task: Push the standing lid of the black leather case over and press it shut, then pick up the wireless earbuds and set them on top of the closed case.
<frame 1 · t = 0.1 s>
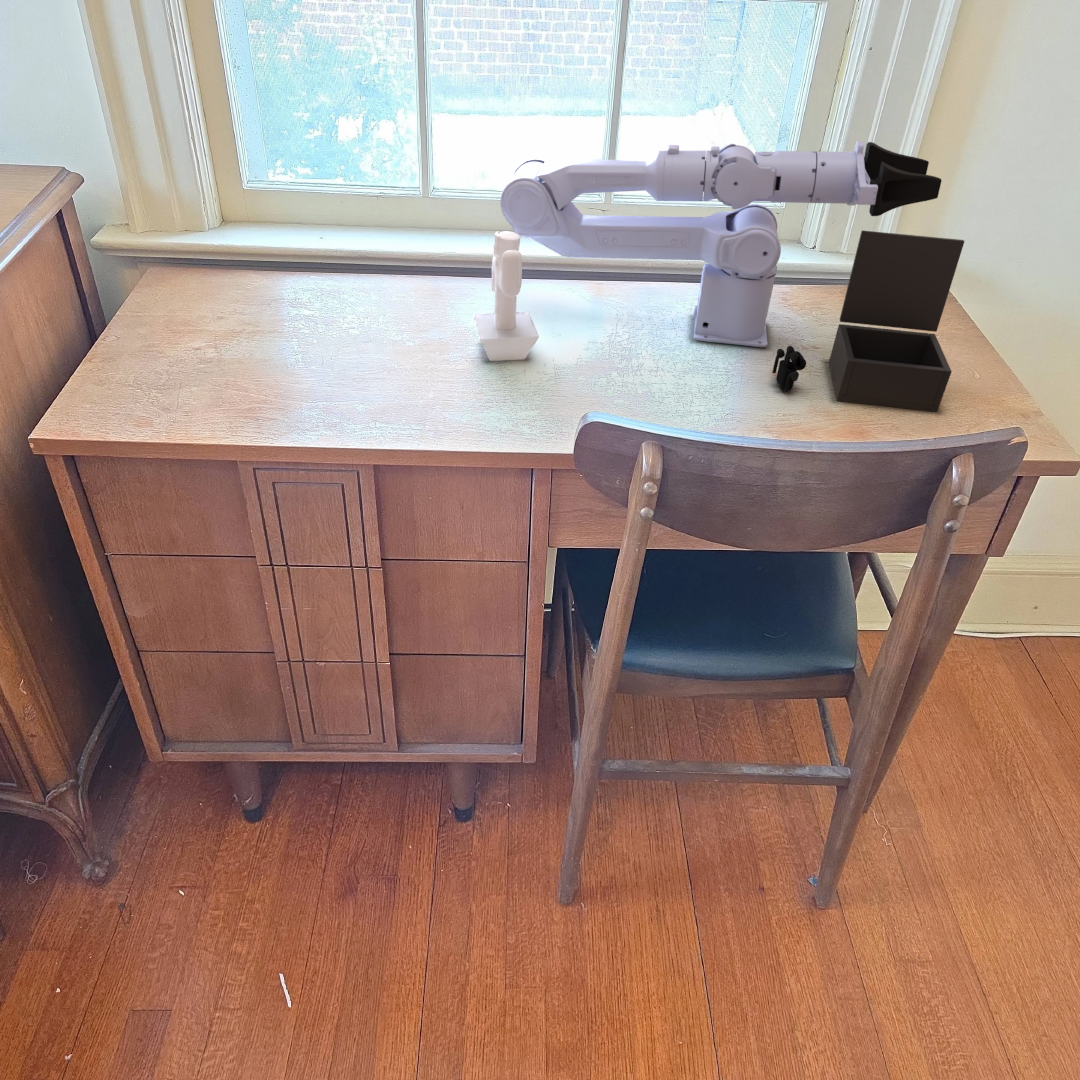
hand: (932, 179, 105), 22 cm above the table, tool horizontal, fingers open, 7 cm apart
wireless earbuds: (786, 388, 108), on the table
case: (880, 386, 110), on the table
figurine: (504, 353, 113), on the table
case lid: (899, 282, 107), point 11 cm above the table, hinge at 95.0°
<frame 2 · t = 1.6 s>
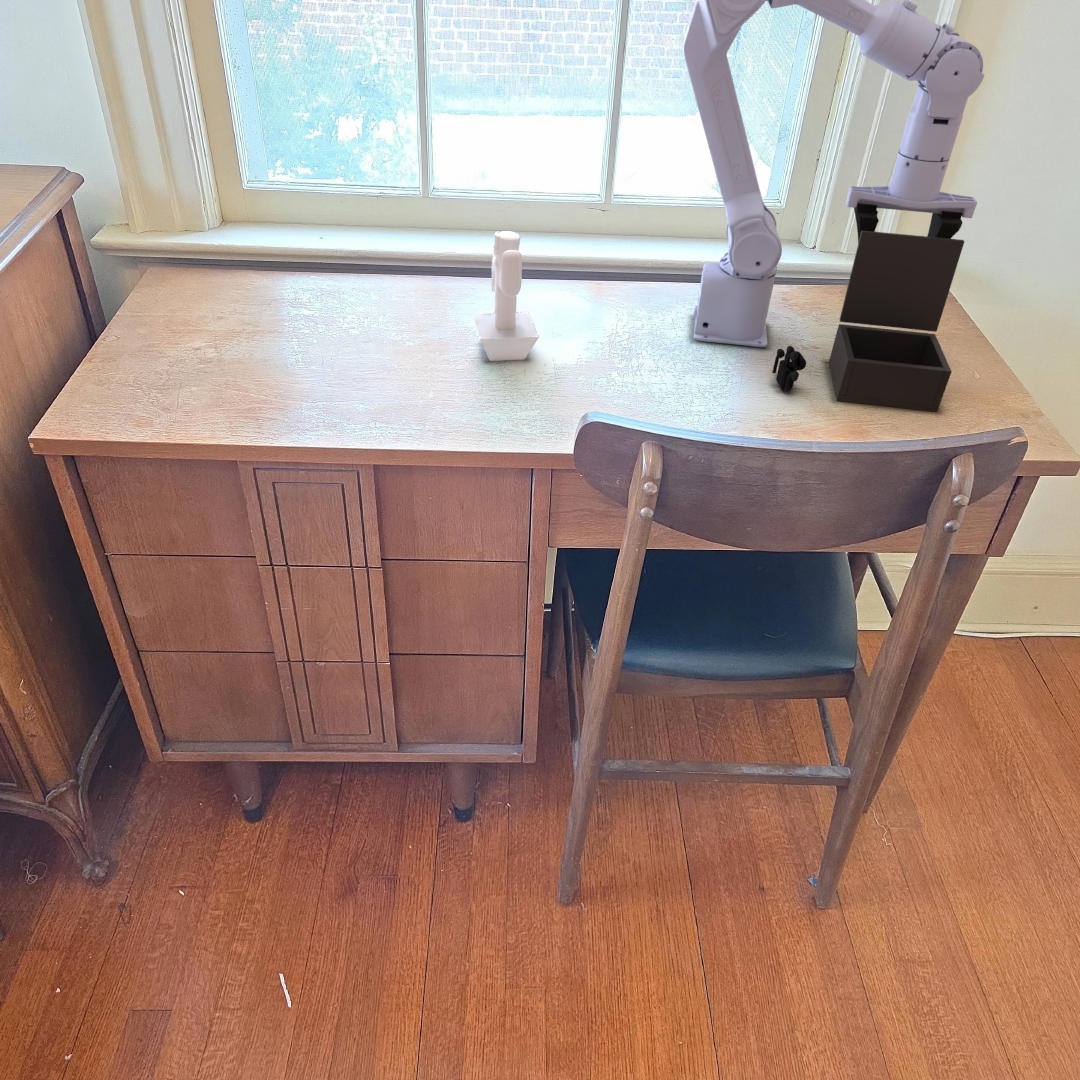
hand: (890, 269, 112), 10 cm above the table, tool pointing down, fingers open, 7 cm apart
nothing on the table moved.
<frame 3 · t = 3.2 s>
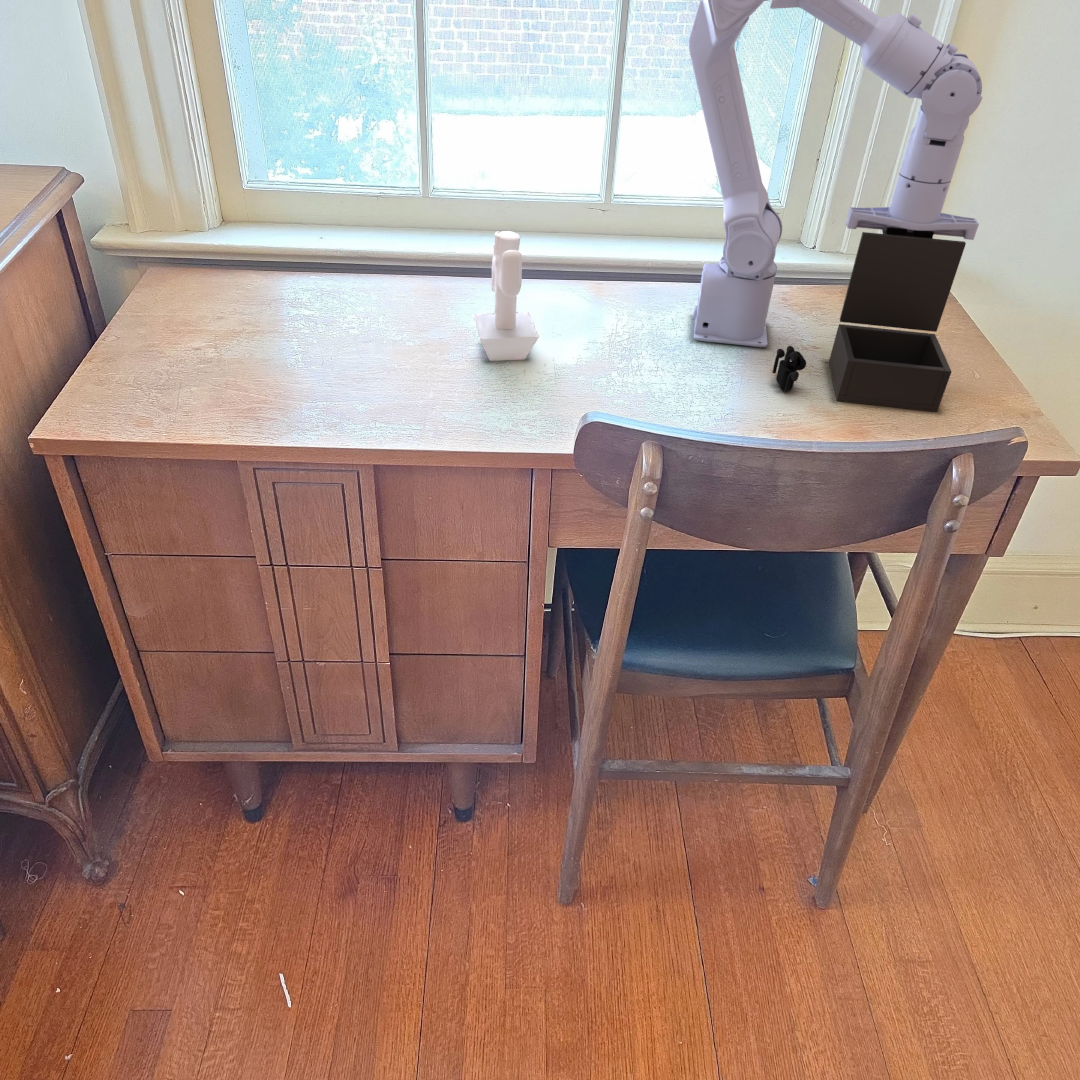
hand: (891, 290, 111), 9 cm above the table, tool pointing down, fingers closed, pressing on case lid
case lid: (900, 283, 107), point 11 cm above the table, hinge at 91.2°, touching gripper
everything else where it was.
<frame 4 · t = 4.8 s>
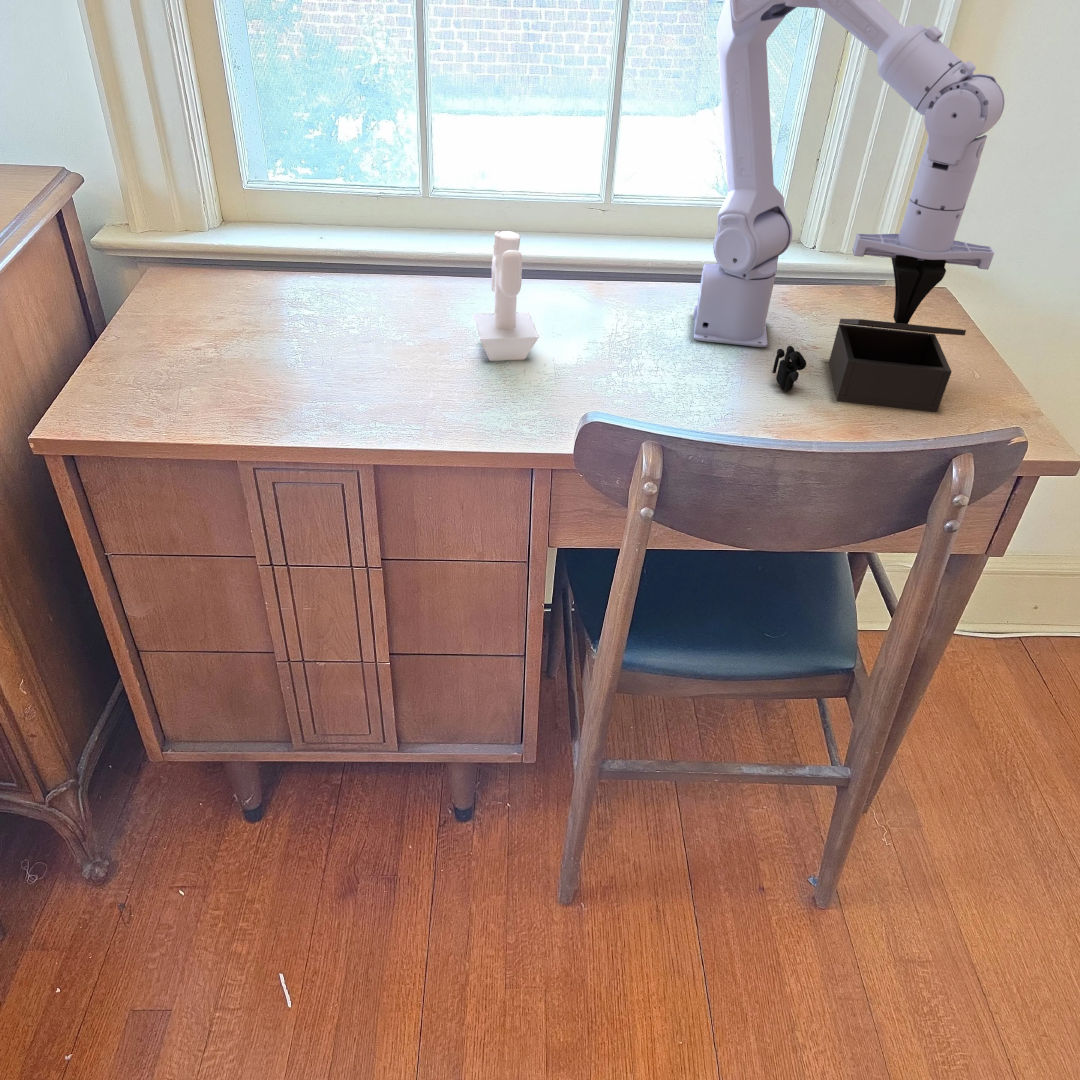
hand: (900, 320, 105), 8 cm above the table, tool pointing down, fingers closed
case lid: (899, 326, 105), point 8 cm above the table, hinge at 23.5°
everything else where it was.
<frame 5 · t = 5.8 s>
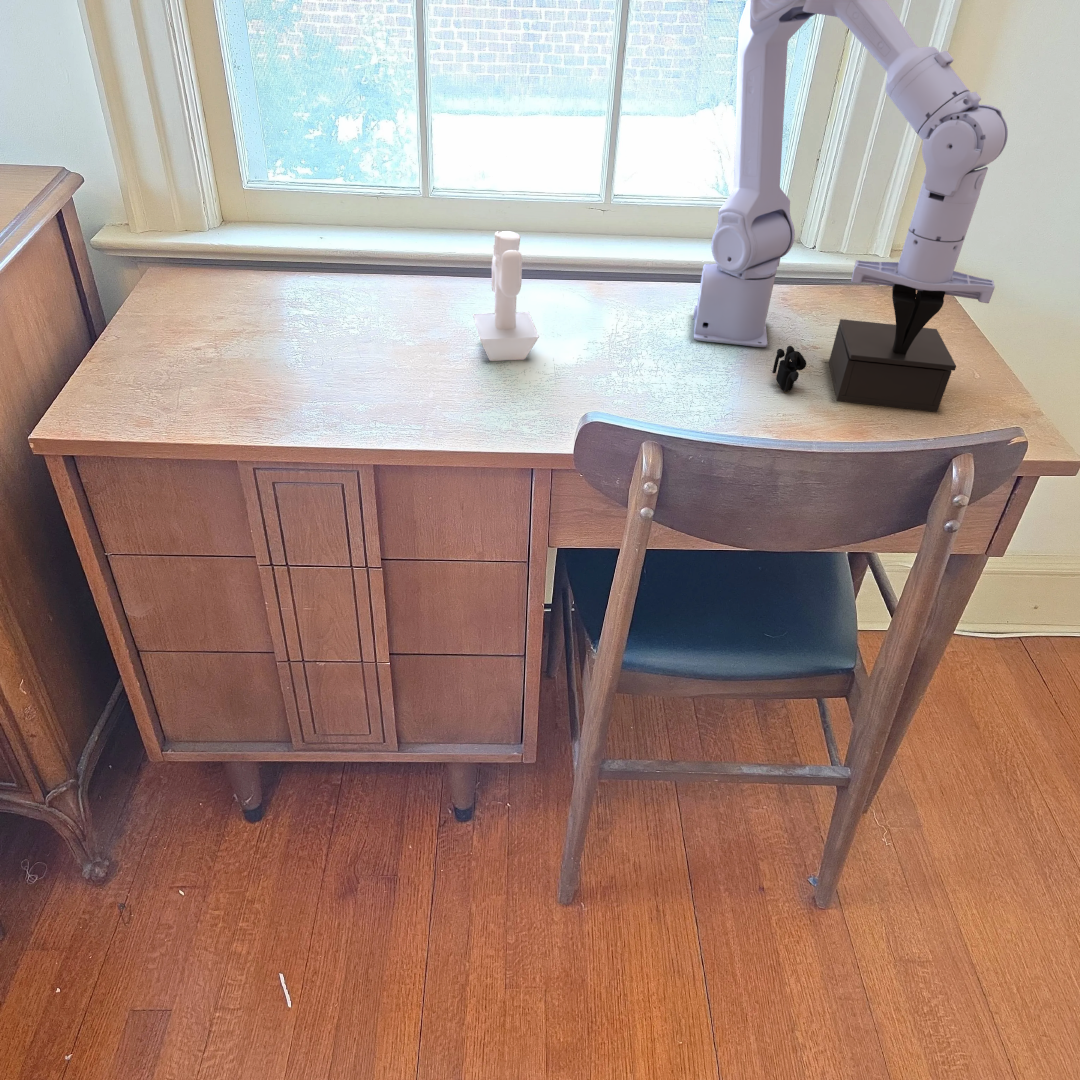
hand: (899, 350, 103), 6 cm above the table, tool pointing down, fingers closed, pressing on case lid
case lid: (894, 343, 106), point 6 cm above the table, hinge at 2.3°, touching gripper
everything else where it was.
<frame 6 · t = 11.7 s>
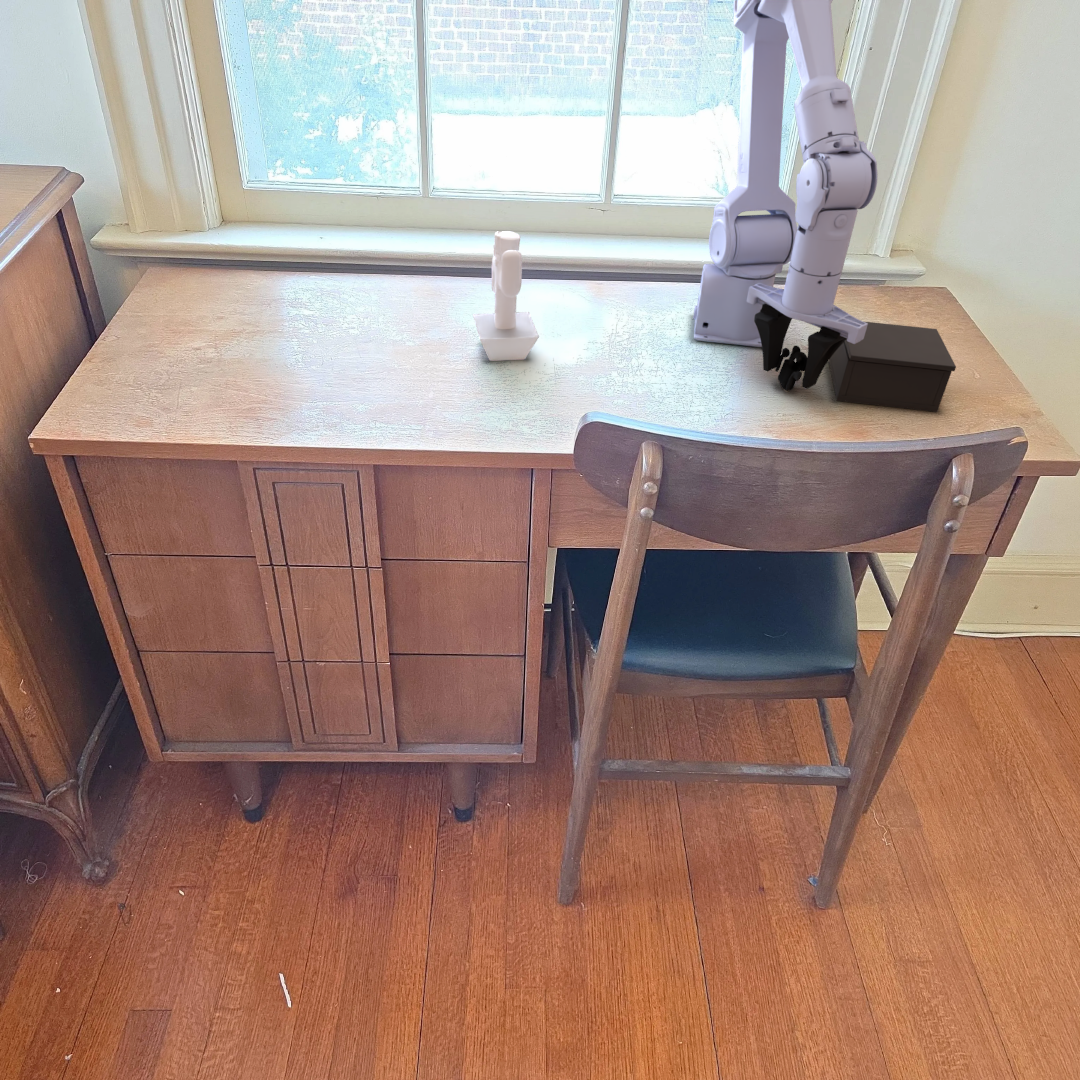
hand: (789, 376, 107), 1 cm above the table, tool pointing down, fingers closed on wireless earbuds, 5 cm apart
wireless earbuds: (787, 388, 108), on the table, touching gripper
case lid: (894, 344, 106), point 6 cm above the table, hinge at 1.9°
everything else where it was.
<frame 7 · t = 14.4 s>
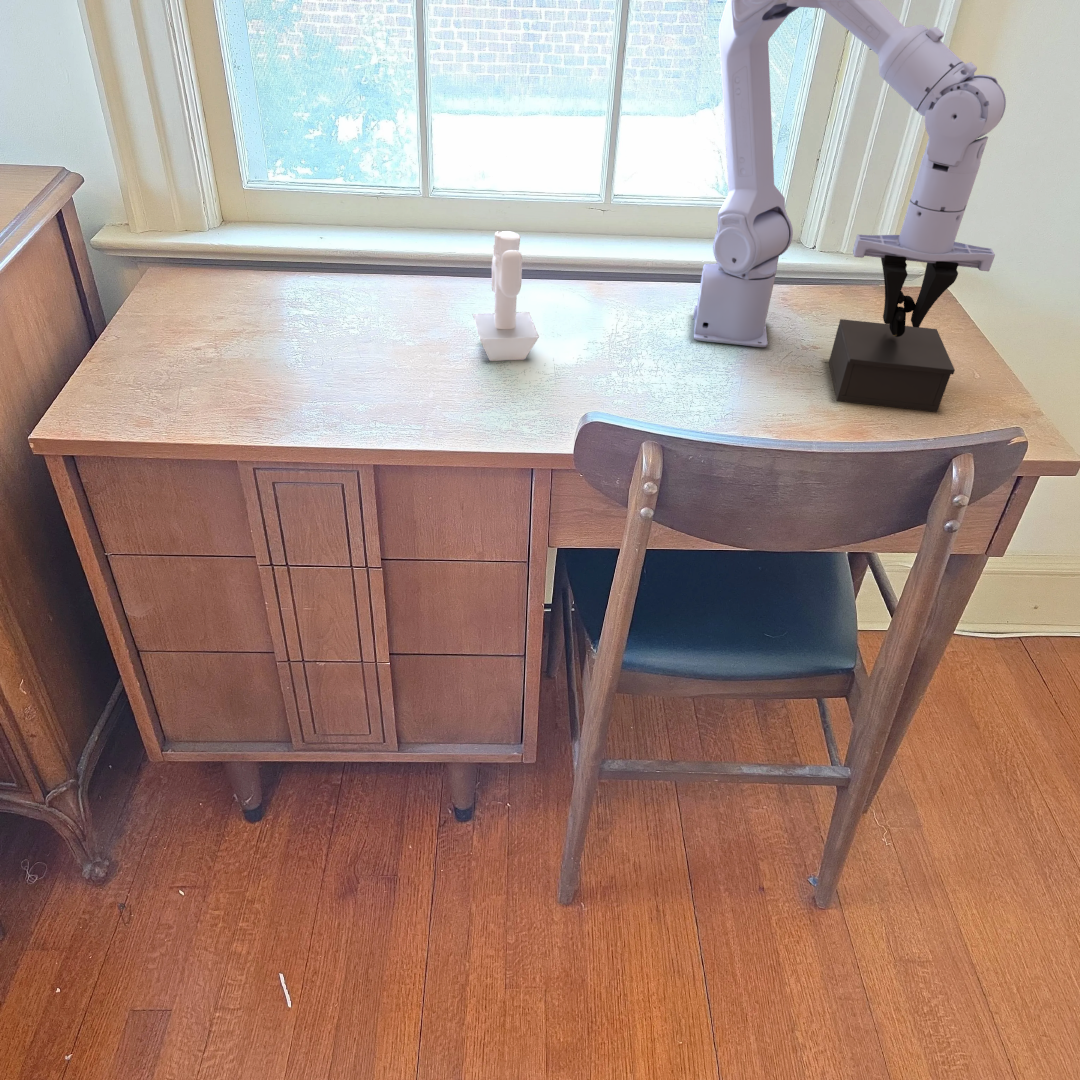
hand: (900, 322, 104), 8 cm above the table, tool pointing down, fingers closed on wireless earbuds, 2 cm apart
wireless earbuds: (901, 335, 106), point 6 cm above the table, touching case lid, gripper
case lid: (894, 345, 106), point 6 cm above the table, hinge at -0.3°, touching case, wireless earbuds
everything else where it was.
when the fingers open (8 cm above the table, at t = 14.4 s): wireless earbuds stays where it is, resting on case lid.
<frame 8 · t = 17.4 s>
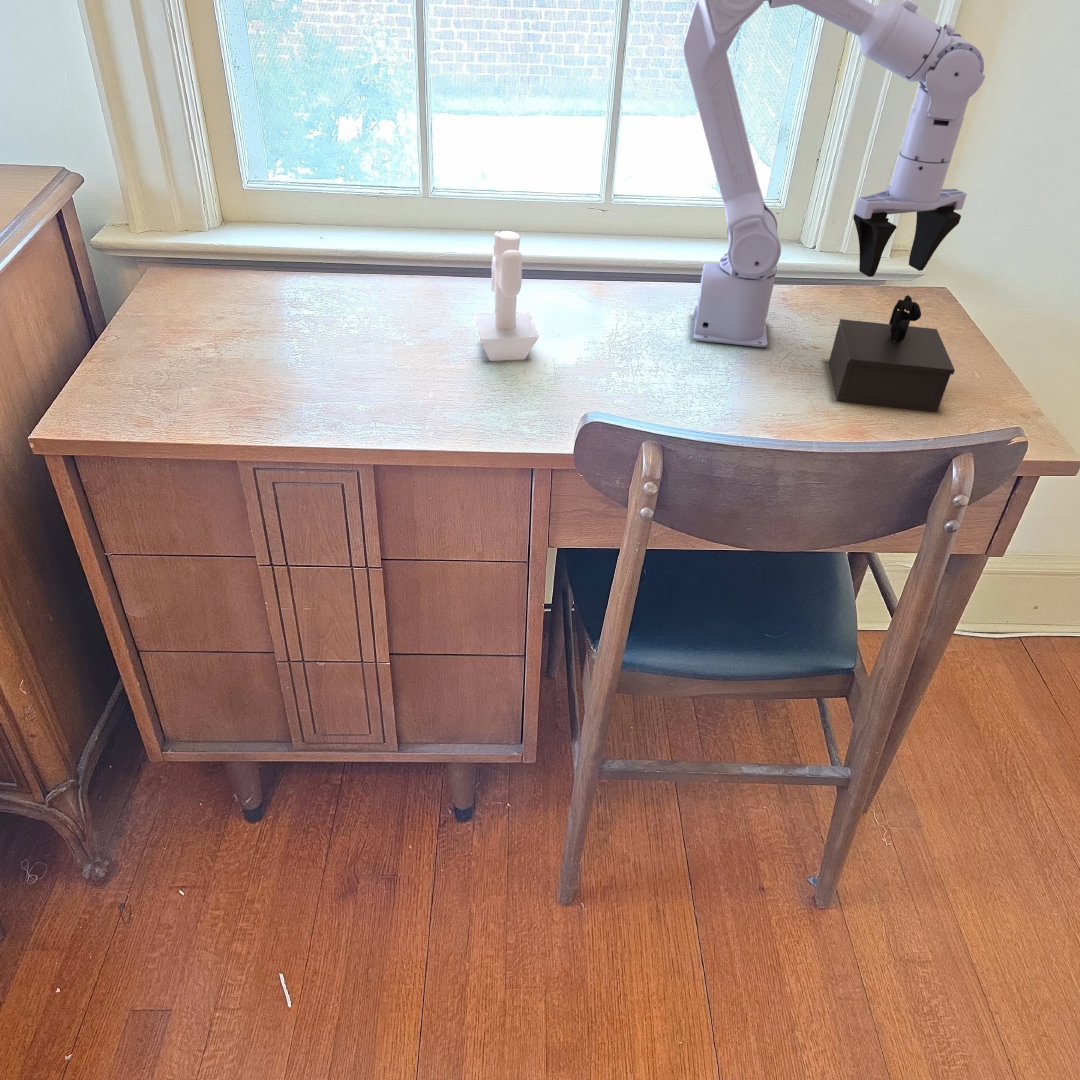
hand: (891, 270, 112), 10 cm above the table, tool pointing down, fingers open, 7 cm apart
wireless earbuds: (899, 340, 107), point 6 cm above the table, touching case lid
everything else where it was.
at the end: case lid at +0° (first picture: +95°); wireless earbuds inside the target area on the case (1.4 cm from its centre), point 5.7 cm above the case's base; the gripper is holding nothing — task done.
